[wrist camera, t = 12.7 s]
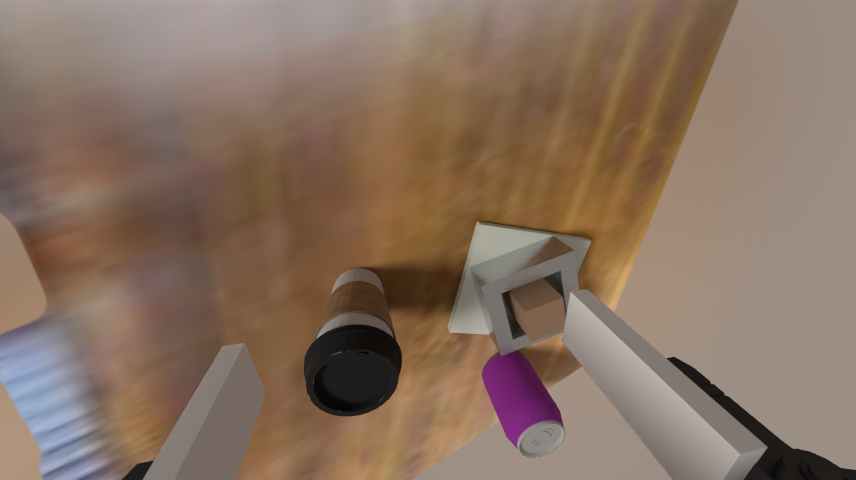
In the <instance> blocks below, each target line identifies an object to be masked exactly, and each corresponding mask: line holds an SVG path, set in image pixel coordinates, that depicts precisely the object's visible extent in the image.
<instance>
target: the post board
mask: <svg viewBox="0 0 856 480" xmlns="http://www.w3.org/2000/svg"><path fill="white" fill-rule="evenodd" d="M551 236H554V237H556V238H557V239H559V240H560V241H562V242H563V243H565V244H566V245H568V246H569V247H571V248H572V249H573V250H575V257H576V266H577V274H578V271H579V269H580V267H581V264H582V262H583V260H584V257H585V255H586V253H587V251H588V248H589V246H590V244H591V240H589V239H587V238H585V237H579V236H572V235H565V234H559V233H552V232H546V231H539V230H532V229H526V228H519V227H513V226H506V225H499V224H493V223H486V222H480V221H477V224H476V228H475V231H474V235H473V238H472V242H471V245H470V249H469V252H468V256H467V260H466V263H465V267H464V270H463V274H462V277H461V281H460V284H459V288H458V291H457V295H456V298H455V302H454V306H453V309H452V313H451V316H450V320H449V323H448V329H449V332H452V333H471V334H489V332H488V329H487V325H486V322H485V319H484V315H483V312H482V309H481V305H480V302H479V299H478V295H477V292H476V289H475V285H474V282H473V279H472V275H471V272H470V269H469V267H471V266H474V265H477V264H479V263H482V262H485V261H487V260H490V259H493V258H495V257H498V256H500V255H503V254H506V253H508V252H511V251H514V250H516V249H519V248H522V247H524V246H527V245H529V244H532V243H535V242H537V241H540V240H543V239H545V238H548V237H551ZM501 295H502V299H503V303H504V307H505V311H506V315H507V314H510V313H511V314H512V315H513V316H514V318H515V319H516V321H517V322H518V323H519V325H520V326H521V328H522V329H523V331H524V332H525V333H526V335H527V336H528V338H529V339H530V340H531V342H532V341H534V340H537V339H539V338H542V337H544V336H547V335H550V334H552V333H555V332H557V331H560V330H562V329H564V326H565V320H566V314H565V308H564V301H563V297H562V296H561V295H560V294H559V293H558V292H557V291H556V290H555V289H554V288H553V287H552V286H551V285H550V284H549V283H548V282H546V281H545V277H543V278H540V279H538V280H535V281H532V282H530V283H527V284H525V285H522V286H519V287H517V288H514V289H512V290H509V291H506V292H504V293H501ZM489 335H490V334H489ZM549 338H550V337H549Z"/></svg>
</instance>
